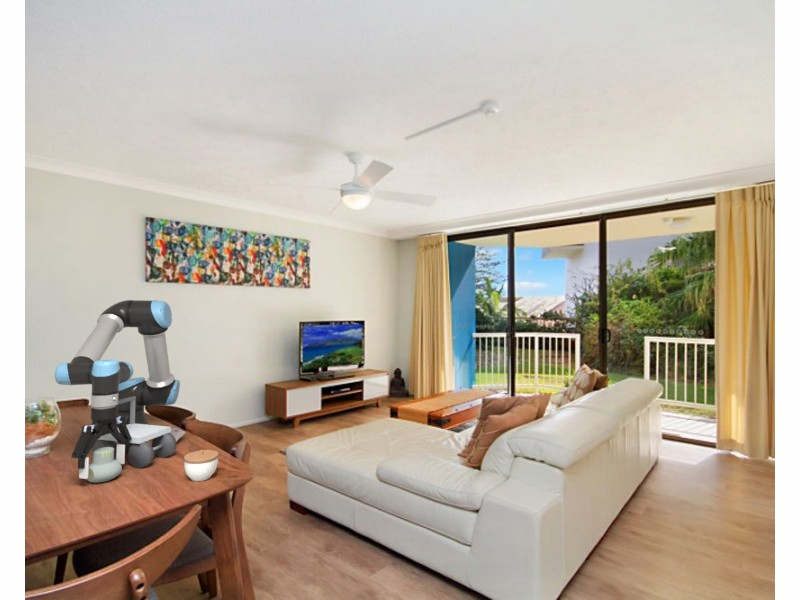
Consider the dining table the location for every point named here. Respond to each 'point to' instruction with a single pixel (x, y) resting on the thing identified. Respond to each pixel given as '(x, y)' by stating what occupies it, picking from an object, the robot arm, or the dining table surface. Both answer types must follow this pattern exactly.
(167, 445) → the trolley
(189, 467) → the lidded jar
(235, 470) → the dining table surface
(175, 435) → the decorative stone
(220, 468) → the dining table surface
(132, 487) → the dining table surface
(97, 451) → the air freshener
